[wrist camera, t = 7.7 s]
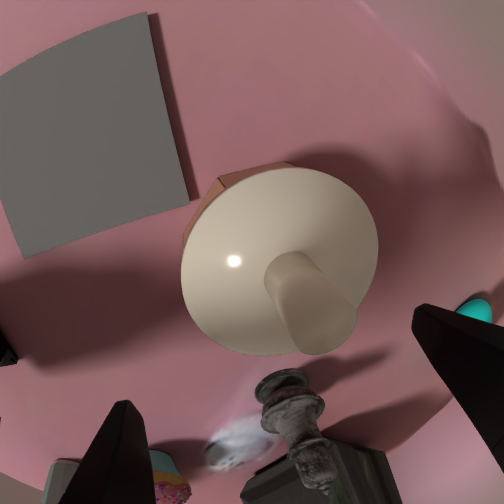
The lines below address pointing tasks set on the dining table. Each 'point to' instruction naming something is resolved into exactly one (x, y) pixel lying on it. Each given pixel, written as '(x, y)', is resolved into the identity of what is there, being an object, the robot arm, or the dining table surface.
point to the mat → (86, 138)
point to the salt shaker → (297, 425)
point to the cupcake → (168, 480)
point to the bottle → (342, 489)
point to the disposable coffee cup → (58, 480)
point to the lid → (280, 263)
